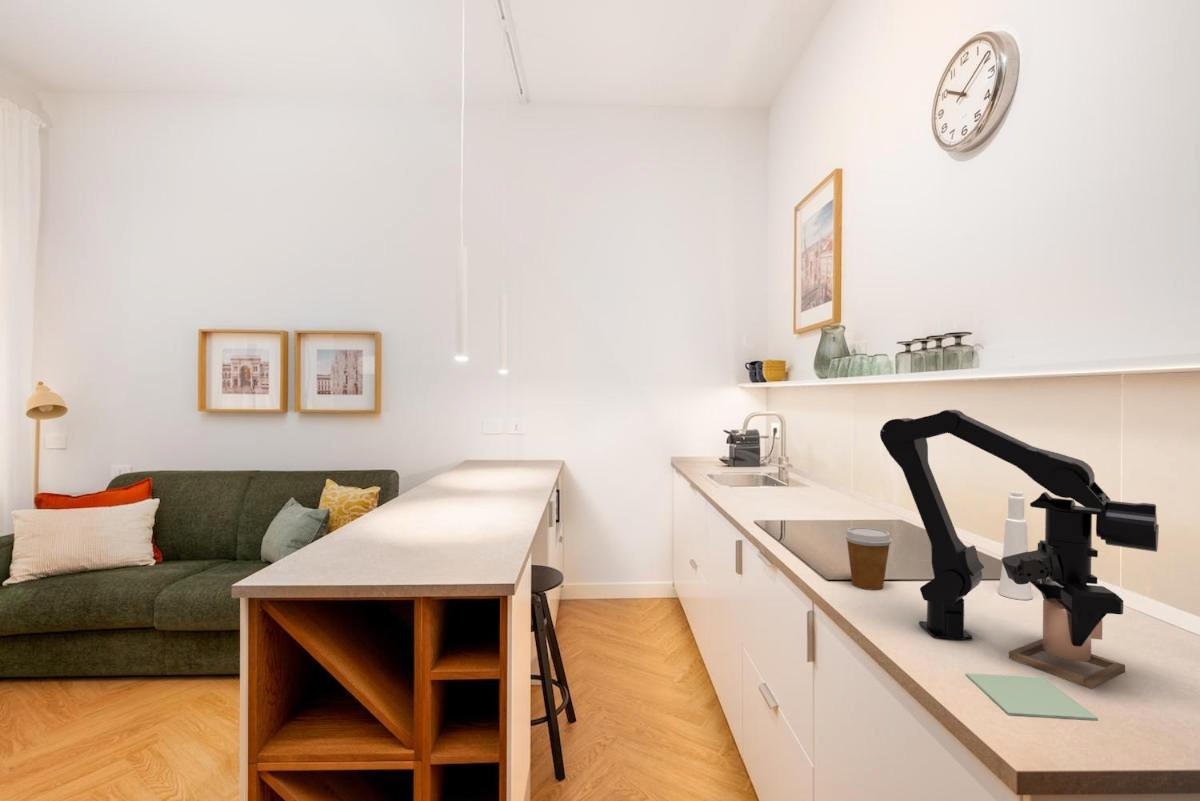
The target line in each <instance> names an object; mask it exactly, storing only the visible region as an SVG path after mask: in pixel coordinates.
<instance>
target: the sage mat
mask: <svg viewBox="0 0 1200 801" xmlns="http://www.w3.org/2000/svg"><path fill="white" fill-rule="evenodd" d="M965 676H966V677H967V678H968V679H969V680H970V681H971V682H973V683H974V685H976V686H977V687H978V689H980V690H981V691H982V692H983V693H984V694H985V695H986V696H987V697H989V699H990V700H992V702H994V703H995V704H996V705H997V706H998V707H999V708H1000V709H1001V710H1002V711H1004V712H1005V713H1006V715H1008V716H1018V717H1019V716H1020V717H1037V718H1052V719H1057V718H1058V719H1067V720H1068V719H1069V720H1070V719H1071V720H1086V721H1089V720H1090V721H1099V718H1098V717H1097V716H1096V715H1095V714H1093V713H1092V712H1091V711H1089V710H1088V709H1087V708H1086V707H1084V706H1083V705H1082V704H1080V703H1079V702H1078V701H1077V700H1075V699H1073V698H1072V697H1071V696H1070V695H1068V694H1067V693H1066V692H1064V691H1063V690H1062V689H1060V687H1058V686H1056V685H1055V684H1053V683H1052V682H1051V681H1049V679H1047V678H1046V677H1043V676H1027V675H1024V676H1023V675H1010V674H1009V675H1008V674H1006V675H1003V674H985V673H969V672H968V673H967V672H966V673H965Z"/></svg>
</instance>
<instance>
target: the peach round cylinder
mask: <svg viewBox="0 0 1200 801" xmlns="http://www.w3.org/2000/svg"><path fill="white" fill-rule="evenodd" d="M1056 600H1062V599H1056V598H1049V599H1043V600H1042V639H1043V644H1042V647H1043V651H1044V652H1046V653H1048V654H1050V655H1052V656H1055V657H1058V658H1060V659H1065V660H1067V661H1068V660H1069V661H1075V662H1089V661H1088V660H1090V659H1091V654H1092V640H1103V619H1102V620H1101V621H1100V622H1099V623H1098V625H1097V626H1096V627H1095V628H1094V630H1093V631H1092V632H1091V634H1090V635H1089V637H1088V638H1087V639H1086V641H1085V642H1084V643H1083V645H1082V646H1080V647H1079V646H1073V645H1072V642H1071V637H1070V631H1069V624H1068V617H1067V611H1066V610H1065V609H1064V608H1063V607H1062V606H1061V605H1060V604H1059V603H1058V602H1057V601H1056Z"/></svg>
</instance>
